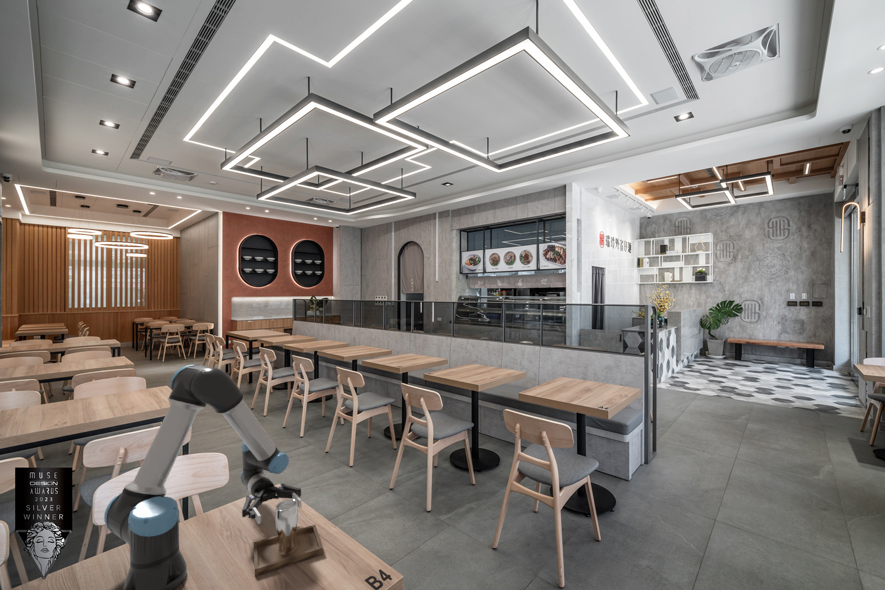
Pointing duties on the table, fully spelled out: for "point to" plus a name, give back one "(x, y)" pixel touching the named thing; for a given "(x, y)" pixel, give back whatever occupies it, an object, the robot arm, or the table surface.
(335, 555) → the table surface
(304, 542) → the walnut tray
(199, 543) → the table surface
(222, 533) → the table surface
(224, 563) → the table surface
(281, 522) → the silver metal cup
